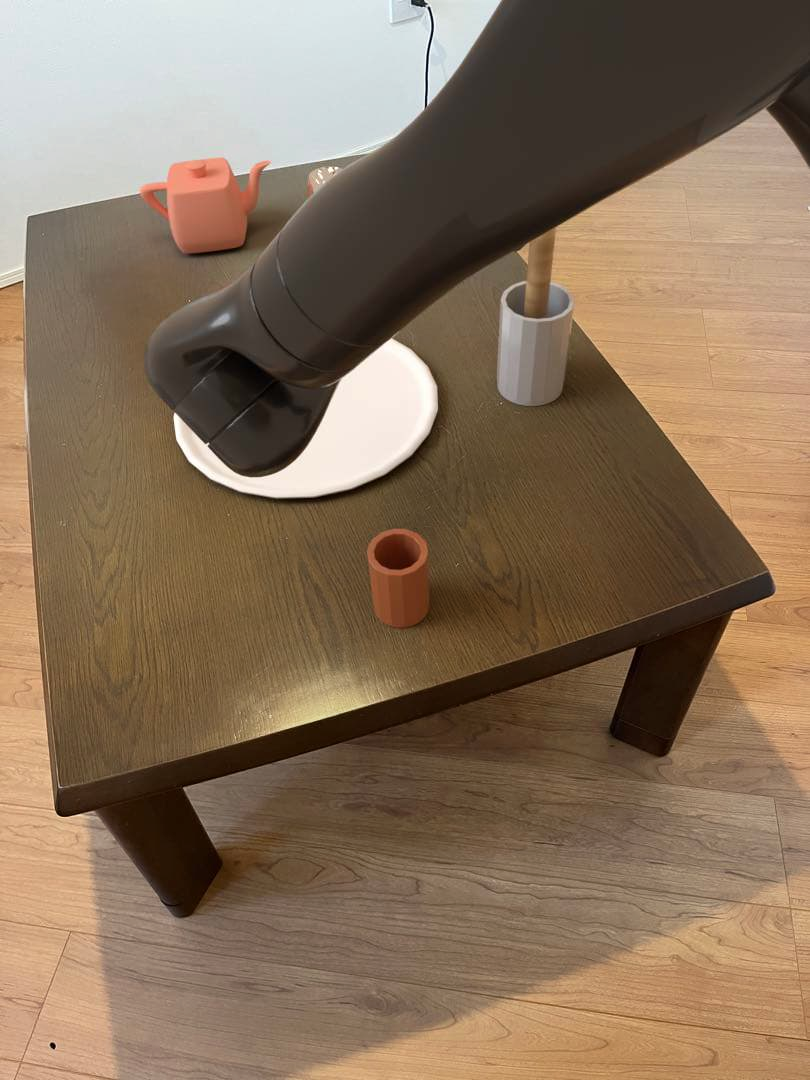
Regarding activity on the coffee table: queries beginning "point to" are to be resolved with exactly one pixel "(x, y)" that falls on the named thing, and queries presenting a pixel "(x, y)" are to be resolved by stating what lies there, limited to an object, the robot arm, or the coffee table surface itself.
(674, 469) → the coffee table surface
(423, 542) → the holder
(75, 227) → the coffee table surface
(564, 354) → the grey faceted cup
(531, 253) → the light brown wooden rod
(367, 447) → the plate
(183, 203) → the teapot
